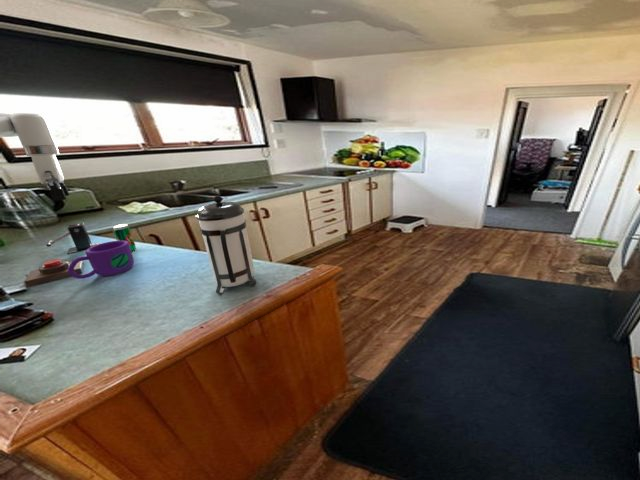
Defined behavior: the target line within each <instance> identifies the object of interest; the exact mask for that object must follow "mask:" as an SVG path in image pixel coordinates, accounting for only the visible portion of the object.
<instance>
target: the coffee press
mask: <svg viewBox="0 0 640 480" xmlns="http://www.w3.org/2000/svg"><path fill="white" fill-rule="evenodd" d="M244 213H245V209H244V207H243V206H242V205H241V204H240V203H238V202H235V201H223V197H222V196H221V195H215V196H214V197H213V203H208V204H205V205H204V206H202V207H200V208H199V209H198V211H197V214H196V215H195V218H196V220H197V221H198V222H199V230H200V234H201V235H202V238H203V242H204V246H205V250H206V253H207V258H208V261H209V262H208V263H209V265H210V269H211V273H212V277H213V280H214V283H215V284H216V285H217V286H216V290H215V294H217V295H223V293H224V291H225V289H226V288H232V287H236V286H240V285H243V284H245V283H246V284H247V285H249V286H250V287H253V286H255V285H257V282H256V280H255V279H254V278H253V277H254V276H255V273H256V271H255V267H254V266H255V265H254V260H253V256H252V250H251V245H250V240H249V234H248V230H247V225H248V224H247V221H246V219H245V215H244Z"/></svg>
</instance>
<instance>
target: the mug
mask: <svg viewBox="0 0 640 480" xmlns="http://www.w3.org/2000/svg"><path fill="white" fill-rule="evenodd" d="M84 252H85V255H84V256H79V257H78V256H77V257H76V258H74V259H73V260H71V261H70V262H71V264H70V265H69V267H68V273H69V274H70V275H71V276H70V277H72V278H74V279H77V280H82V279H88V278H91V277H93V276H94V275H97V276H100V277H109V276H115V275H118V274H122V273H125V272H126V271H128V270H130V269H132V267H133V266H134V264H135V260H134V256H133V252H131V249H130V246H129V243H128V242H127V241H117V240H112V241H106V242H103V243H102V242H101V244H98V245H95V246H93V247H90V248H88V249H87V250H85V251H84ZM82 260H83V261H89V264H90V266H91V268H92V269H93V270H91V271H90V272H88V273H84V274H77V273H76V272H74V268H75V266H76V264H77V263H78V262H79V261H82Z"/></svg>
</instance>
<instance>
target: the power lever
mask: <svg viewBox="0 0 640 480" xmlns="http://www.w3.org/2000/svg"><path fill="white" fill-rule="evenodd" d="M77 224H78V223H77ZM78 225H79V224H78ZM76 226H77V225H76ZM68 236H71V234H70V232H69V231H68V232H66V233H64V234H61V235H60V236H58V237H56V238H55V239H53V240H49V241H48V242H47V243H46V247H48V248H50V247H52V245H53V244H55V243H58V242H59V241H61V240H63V239H64V238H66V237H68Z"/></svg>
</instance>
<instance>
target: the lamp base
mask: <svg viewBox="0 0 640 480" xmlns="http://www.w3.org/2000/svg"><path fill="white" fill-rule="evenodd" d="M61 262H62V264H61V265H58V266H55V267H51V268H45V266H44V264H43V265H42V266H39V267H38V268H36V269H32V270H30V271H29V273H28V274H27V276H26V278H25V279H24V284H25V286H26V288H29V287H34V286H37V285H42V284H45V283H50V282H52V281H53V282H54V281H57V280H61V279H66V278H69V277H72V276H71V275H70V274H69V273H68V267H69V265H70V264H71V262H72V261H68V260H61ZM84 269H85V261H84V260H82V261H79V262H78V263H77V264H76V266H75V268H74V272H76V273H77V274H79V275H83V273H84Z"/></svg>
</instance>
